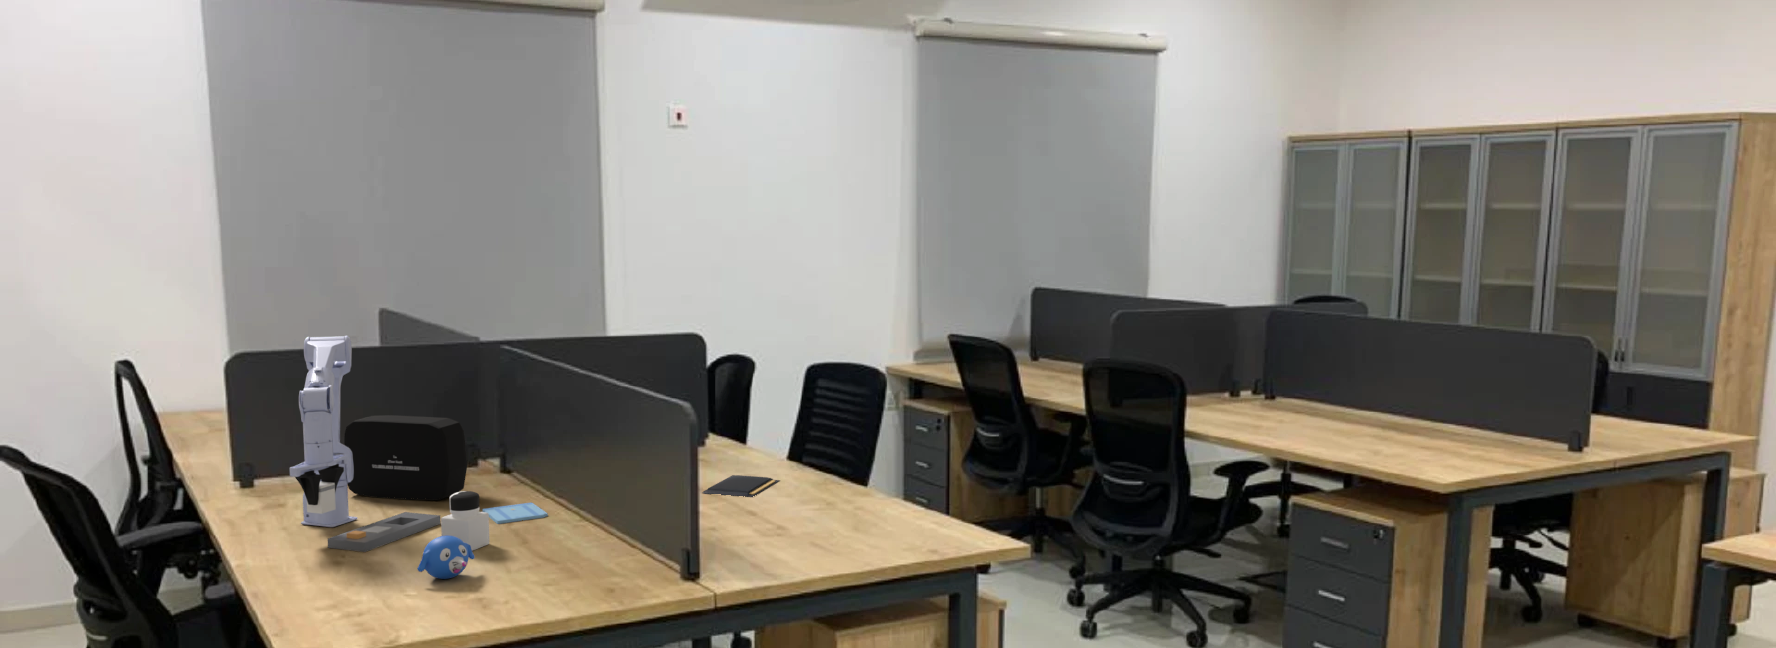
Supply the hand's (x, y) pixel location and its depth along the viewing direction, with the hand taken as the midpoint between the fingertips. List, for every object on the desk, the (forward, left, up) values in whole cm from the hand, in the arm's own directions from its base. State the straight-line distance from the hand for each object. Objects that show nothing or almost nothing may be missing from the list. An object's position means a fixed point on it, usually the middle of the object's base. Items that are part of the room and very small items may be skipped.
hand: (321, 502), depth 257 cm
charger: (0, 0, -2) cm, 2 cm away
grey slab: (+10, +8, -9) cm, 16 cm away
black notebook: (+66, +76, -10) cm, 101 cm away
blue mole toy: (+45, -14, -9) cm, 48 cm away
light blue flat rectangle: (+26, +33, -10) cm, 43 cm away
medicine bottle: (+33, +6, -9) cm, 35 cm away
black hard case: (-12, +42, -9) cm, 45 cm away
